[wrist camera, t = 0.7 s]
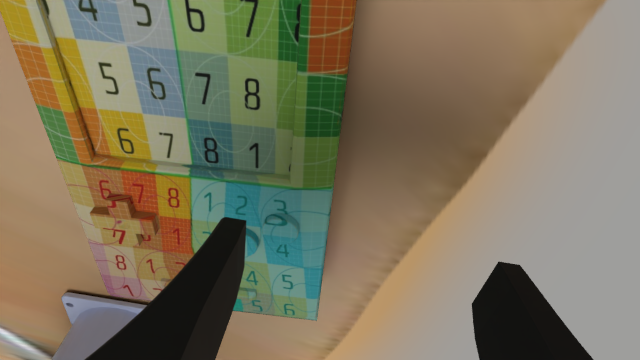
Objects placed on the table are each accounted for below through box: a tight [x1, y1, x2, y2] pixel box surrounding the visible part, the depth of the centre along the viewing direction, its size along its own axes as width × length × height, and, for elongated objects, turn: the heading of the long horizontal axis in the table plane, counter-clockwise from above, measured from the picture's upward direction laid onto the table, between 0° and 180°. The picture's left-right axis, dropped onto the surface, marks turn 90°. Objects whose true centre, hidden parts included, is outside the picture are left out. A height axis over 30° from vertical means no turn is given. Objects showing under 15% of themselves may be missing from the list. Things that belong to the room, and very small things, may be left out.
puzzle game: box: [0, 0, 357, 321], centre depth 19 cm, size 12×5×20 cm
